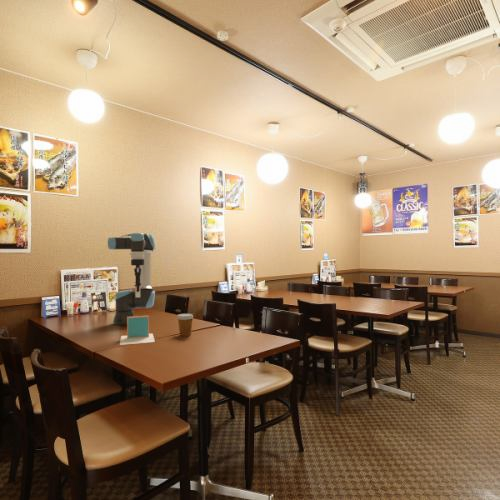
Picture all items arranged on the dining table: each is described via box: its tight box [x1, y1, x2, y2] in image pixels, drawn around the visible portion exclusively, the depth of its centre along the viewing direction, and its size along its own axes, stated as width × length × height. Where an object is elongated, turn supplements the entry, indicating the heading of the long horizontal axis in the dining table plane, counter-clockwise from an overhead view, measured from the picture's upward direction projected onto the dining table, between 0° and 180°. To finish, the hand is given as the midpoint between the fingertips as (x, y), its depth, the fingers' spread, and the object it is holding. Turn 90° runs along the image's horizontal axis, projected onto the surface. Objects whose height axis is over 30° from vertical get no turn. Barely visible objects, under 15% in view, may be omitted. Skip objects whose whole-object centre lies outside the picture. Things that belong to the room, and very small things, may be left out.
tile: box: [126, 315, 150, 338], centre depth 203 cm, size 2×12×12 cm, turn 108°
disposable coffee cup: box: [177, 313, 194, 337], centre depth 210 cm, size 10×10×12 cm
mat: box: [119, 332, 155, 346], centre depth 199 cm, size 22×18×1 cm
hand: (137, 296), depth 211 cm, fingers open, 8 cm apart
